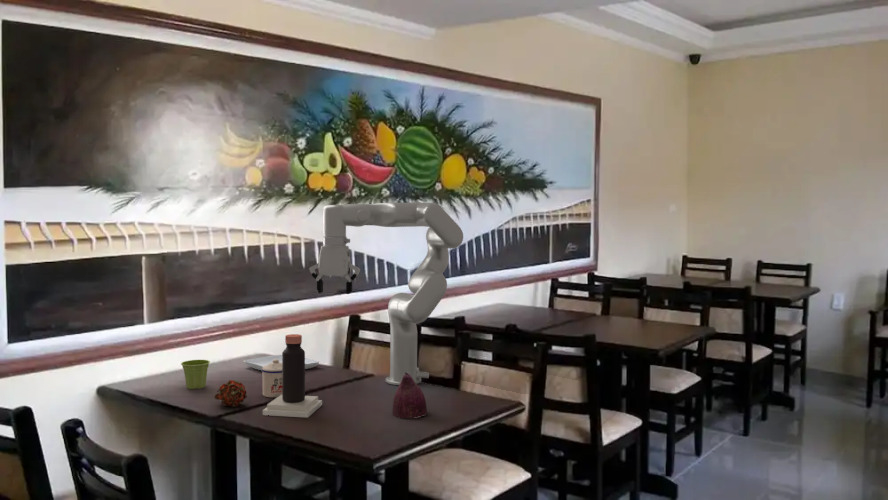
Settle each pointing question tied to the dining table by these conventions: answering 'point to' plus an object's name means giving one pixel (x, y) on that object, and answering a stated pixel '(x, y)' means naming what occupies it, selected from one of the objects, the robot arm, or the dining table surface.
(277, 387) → the teacup with lid
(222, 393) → the dragon fruit
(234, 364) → the dining table surface
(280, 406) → the stand
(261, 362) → the salad plate
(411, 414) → the vegetable
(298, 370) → the dark brown water bottle
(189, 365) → the plant pot
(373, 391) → the dining table surface
